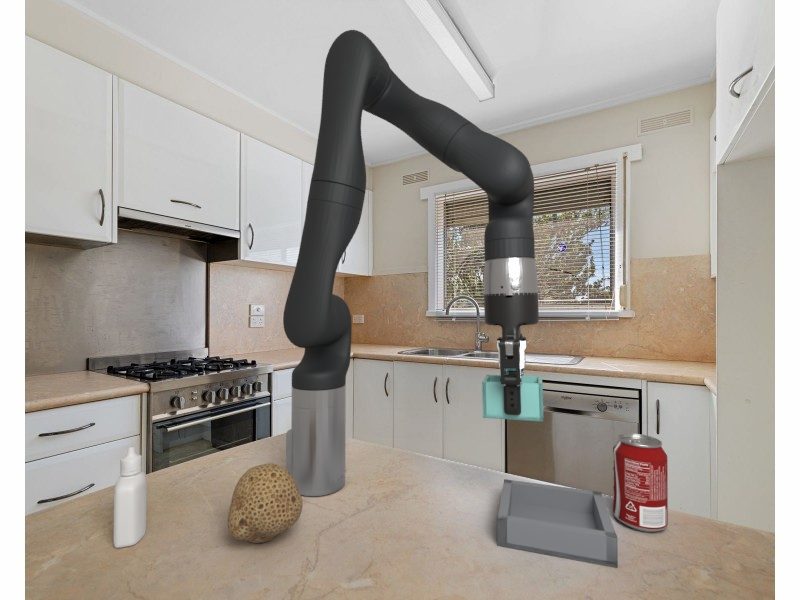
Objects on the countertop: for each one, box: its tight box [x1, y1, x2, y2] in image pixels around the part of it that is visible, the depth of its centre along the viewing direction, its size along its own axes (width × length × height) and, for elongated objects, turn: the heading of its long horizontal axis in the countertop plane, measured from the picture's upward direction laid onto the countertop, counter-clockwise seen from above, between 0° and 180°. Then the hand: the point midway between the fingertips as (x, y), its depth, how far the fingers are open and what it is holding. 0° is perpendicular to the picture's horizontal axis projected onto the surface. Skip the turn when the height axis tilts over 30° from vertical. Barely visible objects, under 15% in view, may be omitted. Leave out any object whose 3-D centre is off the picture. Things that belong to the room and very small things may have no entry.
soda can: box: [612, 432, 669, 533], centre depth 59 cm, size 7×7×12 cm
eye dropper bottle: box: [113, 446, 148, 549], centre depth 55 cm, size 4×6×12 cm
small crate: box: [481, 374, 544, 423], centre depth 58 cm, size 8×6×5 cm
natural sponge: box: [227, 462, 303, 544], centre depth 54 cm, size 9×9×10 cm
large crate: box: [497, 478, 619, 569], centre depth 57 cm, size 14×13×4 cm
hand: (513, 408), depth 58 cm, fingers closed on small crate, 6 cm apart
